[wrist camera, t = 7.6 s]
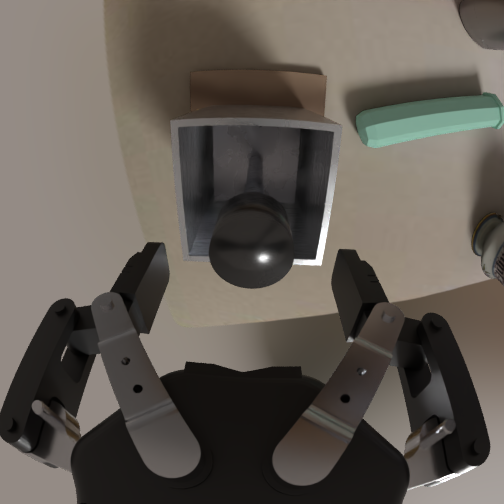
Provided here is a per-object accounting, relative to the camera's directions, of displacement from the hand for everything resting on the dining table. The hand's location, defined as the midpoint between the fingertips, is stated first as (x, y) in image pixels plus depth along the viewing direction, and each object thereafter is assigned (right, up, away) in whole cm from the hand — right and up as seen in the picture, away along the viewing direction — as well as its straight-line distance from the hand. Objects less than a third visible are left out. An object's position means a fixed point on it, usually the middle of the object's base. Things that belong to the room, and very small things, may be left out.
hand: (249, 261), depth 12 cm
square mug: (0, +12, +20) cm, 23 cm away
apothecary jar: (+46, +4, +26) cm, 53 cm away
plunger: (0, +10, +14) cm, 17 cm away
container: (+25, +20, +16) cm, 36 cm away
